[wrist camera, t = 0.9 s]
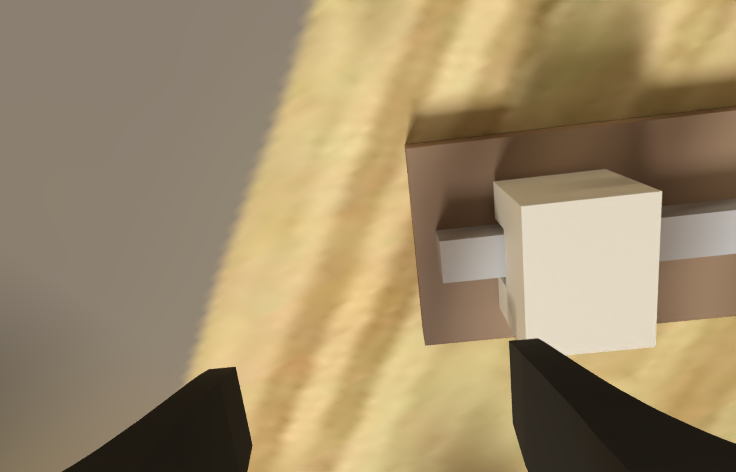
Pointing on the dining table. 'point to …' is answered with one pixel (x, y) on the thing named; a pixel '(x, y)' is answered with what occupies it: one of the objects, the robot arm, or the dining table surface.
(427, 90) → the dining table surface
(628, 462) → the robot arm
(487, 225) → the rail board
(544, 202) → the slider
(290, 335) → the dining table surface
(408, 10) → the dining table surface
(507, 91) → the dining table surface
